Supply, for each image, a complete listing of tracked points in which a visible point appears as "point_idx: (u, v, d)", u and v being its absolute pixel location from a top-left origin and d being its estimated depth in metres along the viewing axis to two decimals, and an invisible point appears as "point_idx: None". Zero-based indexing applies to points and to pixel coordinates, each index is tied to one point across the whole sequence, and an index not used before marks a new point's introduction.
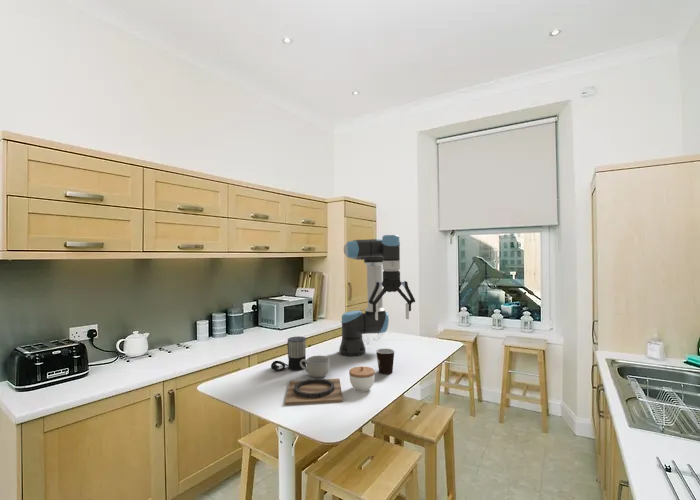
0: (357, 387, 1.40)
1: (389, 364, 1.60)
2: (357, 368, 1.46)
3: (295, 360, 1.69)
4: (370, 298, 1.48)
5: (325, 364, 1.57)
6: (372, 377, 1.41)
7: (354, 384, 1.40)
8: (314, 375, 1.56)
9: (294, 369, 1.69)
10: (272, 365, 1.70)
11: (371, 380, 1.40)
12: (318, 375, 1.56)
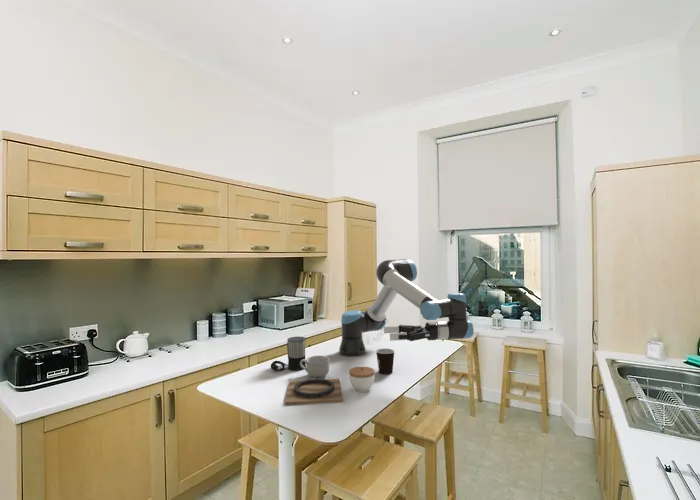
0: (357, 387, 1.40)
1: (389, 364, 1.60)
2: (357, 368, 1.46)
3: (295, 360, 1.69)
4: (414, 338, 1.37)
5: (325, 364, 1.57)
6: (372, 377, 1.41)
7: (354, 384, 1.40)
8: (314, 375, 1.56)
9: (294, 369, 1.68)
10: (272, 365, 1.70)
11: (371, 380, 1.40)
12: (318, 375, 1.56)
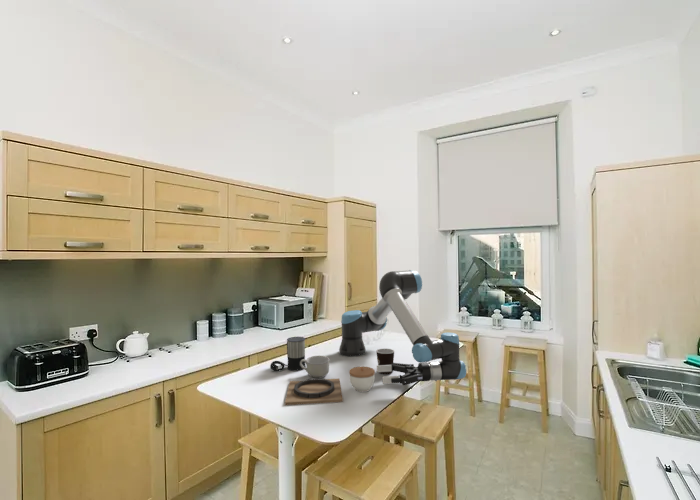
0: (357, 387, 1.40)
1: (389, 364, 1.60)
2: (357, 368, 1.46)
3: (294, 360, 1.68)
4: (407, 382, 1.36)
5: (325, 364, 1.57)
6: (372, 377, 1.41)
7: (354, 384, 1.40)
8: (314, 375, 1.56)
9: (293, 369, 1.68)
10: (271, 365, 1.69)
11: (371, 380, 1.40)
12: (318, 375, 1.56)
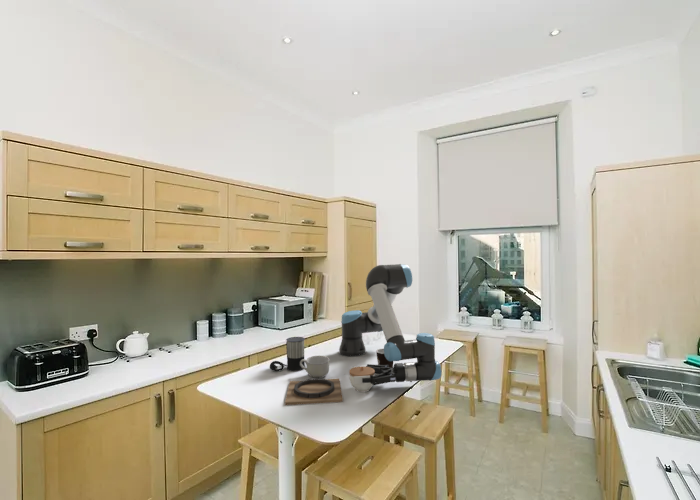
0: (357, 387, 1.40)
1: (389, 364, 1.60)
2: (357, 368, 1.46)
3: (294, 360, 1.68)
4: (378, 382, 1.36)
5: (325, 364, 1.57)
6: None
7: (354, 384, 1.40)
8: (314, 375, 1.56)
9: (293, 369, 1.68)
10: (271, 365, 1.69)
11: None
12: (318, 375, 1.56)
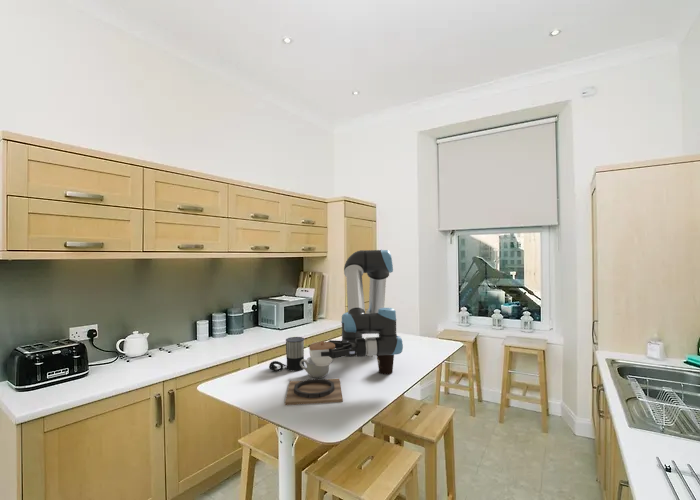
0: (316, 361, 1.37)
1: (389, 364, 1.60)
2: (318, 343, 1.43)
3: (293, 360, 1.68)
4: (336, 356, 1.34)
5: None
6: None
7: (313, 358, 1.38)
8: (314, 375, 1.56)
9: (292, 369, 1.68)
10: (270, 365, 1.69)
11: None
12: (318, 375, 1.56)
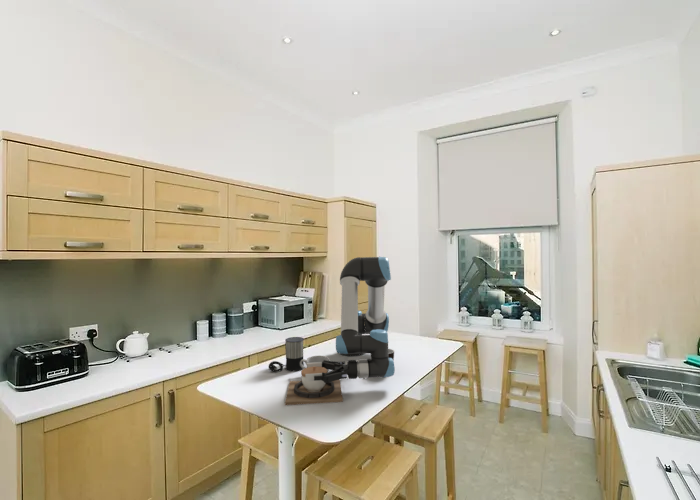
0: (308, 387, 1.38)
1: None
2: (310, 368, 1.44)
3: (293, 360, 1.68)
4: (329, 380, 1.33)
5: None
6: None
7: (305, 384, 1.39)
8: None
9: (292, 370, 1.68)
10: (270, 366, 1.69)
11: None
12: None
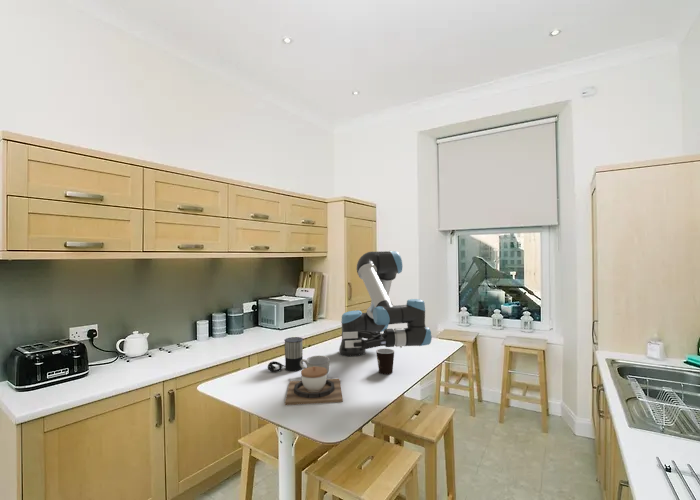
0: (308, 387, 1.38)
1: (389, 364, 1.60)
2: (310, 368, 1.44)
3: (292, 361, 1.68)
4: (369, 346, 1.34)
5: (325, 364, 1.57)
6: (323, 377, 1.39)
7: (305, 384, 1.39)
8: None
9: (291, 370, 1.67)
10: (269, 366, 1.69)
11: (322, 380, 1.39)
12: None
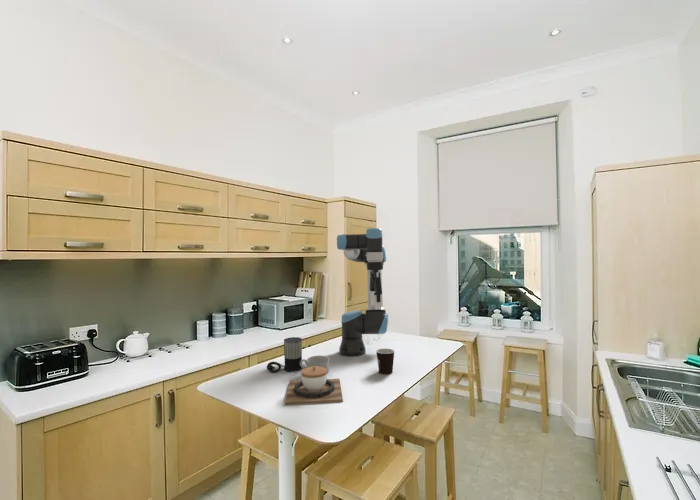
0: (308, 387, 1.38)
1: (389, 364, 1.60)
2: (310, 368, 1.44)
3: (291, 361, 1.67)
4: (371, 285, 1.69)
5: (325, 364, 1.57)
6: (323, 377, 1.39)
7: (305, 384, 1.39)
8: None
9: (290, 370, 1.67)
10: (268, 366, 1.68)
11: (322, 380, 1.39)
12: None
